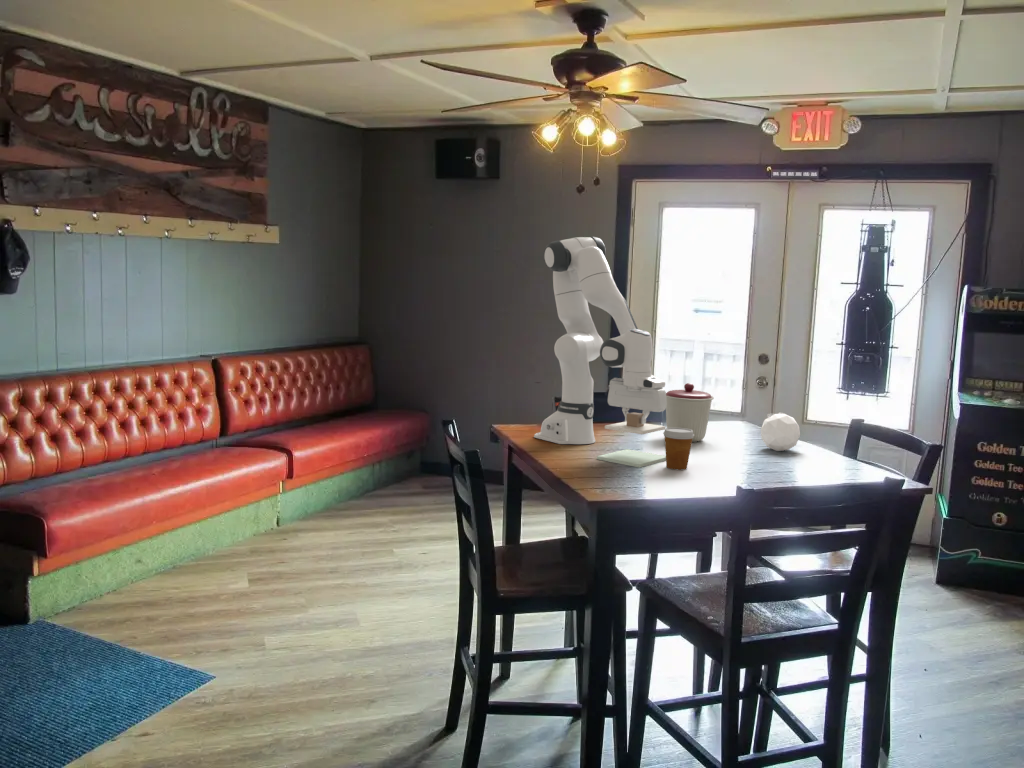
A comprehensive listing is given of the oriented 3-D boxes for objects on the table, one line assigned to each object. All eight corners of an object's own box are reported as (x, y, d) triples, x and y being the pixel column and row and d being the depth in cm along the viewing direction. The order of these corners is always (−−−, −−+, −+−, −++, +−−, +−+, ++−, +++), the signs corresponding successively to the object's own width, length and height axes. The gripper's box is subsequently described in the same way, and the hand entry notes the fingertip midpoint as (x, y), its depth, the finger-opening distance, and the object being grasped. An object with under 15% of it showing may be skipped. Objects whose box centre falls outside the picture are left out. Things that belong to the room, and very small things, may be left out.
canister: (720, 443, 314) (724, 386, 311) (675, 445, 308) (679, 386, 306) (695, 434, 331) (698, 380, 328) (652, 435, 326) (655, 380, 323)
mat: (596, 459, 279) (597, 456, 279) (627, 451, 293) (627, 449, 293) (639, 467, 269) (639, 464, 269) (668, 459, 283) (668, 456, 282)
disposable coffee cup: (667, 471, 265) (670, 432, 264) (656, 464, 274) (658, 427, 273) (697, 471, 267) (699, 432, 266) (685, 464, 276) (687, 427, 275)
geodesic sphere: (755, 436, 299) (781, 406, 298) (745, 429, 313) (771, 400, 311) (786, 462, 300) (813, 432, 298) (775, 454, 313) (801, 425, 312)
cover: (604, 428, 279) (605, 413, 278) (628, 423, 289) (628, 409, 289) (642, 434, 270) (642, 418, 269) (665, 429, 280) (665, 414, 280)
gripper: (604, 377, 282) (603, 419, 283) (659, 383, 269) (657, 427, 270) (615, 376, 287) (613, 417, 288) (669, 382, 274) (667, 425, 275)
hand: (635, 422), depth 279 cm, fingers closed on cover, 4 cm apart
